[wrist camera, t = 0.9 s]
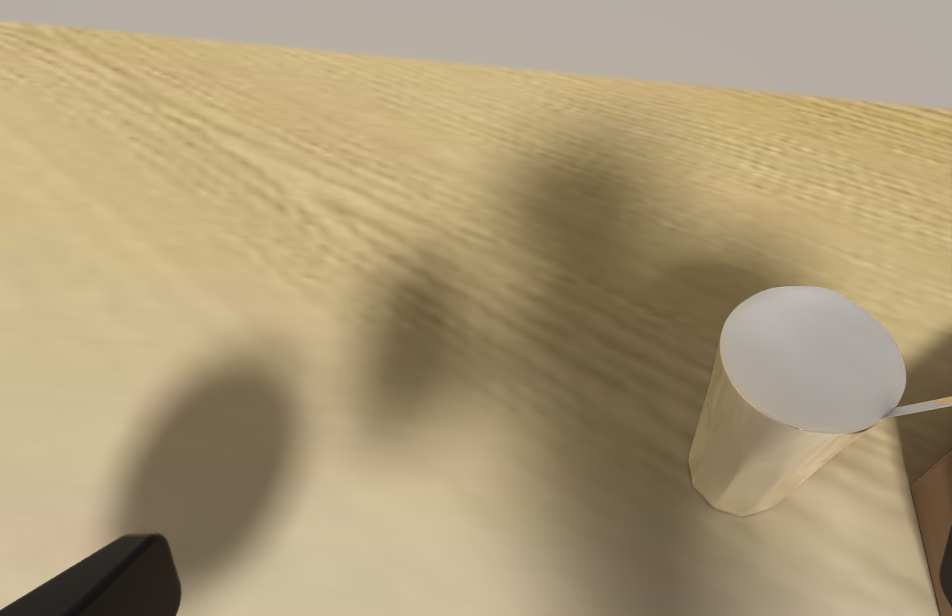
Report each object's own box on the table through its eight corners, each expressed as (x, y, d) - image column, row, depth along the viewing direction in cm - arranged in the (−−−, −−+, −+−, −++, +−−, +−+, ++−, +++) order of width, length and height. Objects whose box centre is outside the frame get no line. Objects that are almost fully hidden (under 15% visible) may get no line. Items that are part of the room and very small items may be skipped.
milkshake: (757, 583, 20) (897, 457, 12) (644, 460, 23) (700, 295, 15) (845, 506, 22) (1023, 348, 14) (728, 399, 24) (819, 218, 17)
